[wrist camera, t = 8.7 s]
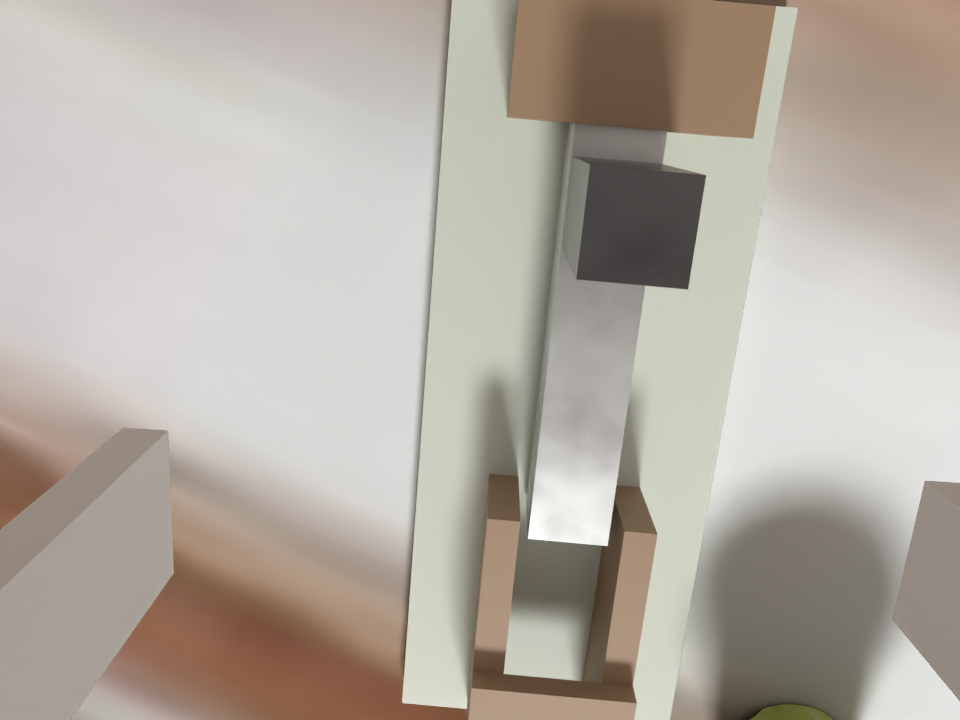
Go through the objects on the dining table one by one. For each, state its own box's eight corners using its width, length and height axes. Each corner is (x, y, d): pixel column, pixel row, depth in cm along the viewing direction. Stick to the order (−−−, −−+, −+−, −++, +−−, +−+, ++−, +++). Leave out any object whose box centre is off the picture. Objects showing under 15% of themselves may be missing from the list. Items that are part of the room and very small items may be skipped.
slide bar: (525, 503, 34) (533, 634, 25) (574, 65, 29) (604, 40, 20) (598, 509, 34) (631, 643, 25) (659, 72, 29) (725, 51, 20)
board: (405, 685, 38) (385, 795, 32) (455, -18, 30) (442, -55, 23) (663, 708, 38) (694, 823, 32) (786, 12, 30) (861, -18, 23)
